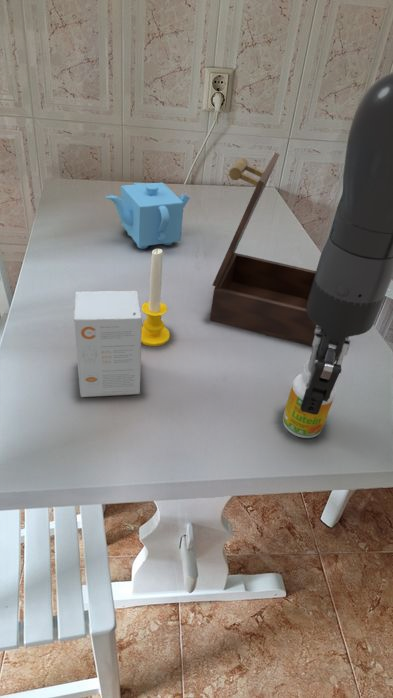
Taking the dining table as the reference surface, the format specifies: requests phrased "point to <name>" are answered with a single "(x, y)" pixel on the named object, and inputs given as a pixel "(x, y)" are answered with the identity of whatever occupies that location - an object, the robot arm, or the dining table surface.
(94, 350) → the small box
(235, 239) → the lid
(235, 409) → the dining table surface
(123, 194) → the teapot
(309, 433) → the supplement bottle
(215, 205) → the dining table surface
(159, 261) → the candle
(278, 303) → the chest
